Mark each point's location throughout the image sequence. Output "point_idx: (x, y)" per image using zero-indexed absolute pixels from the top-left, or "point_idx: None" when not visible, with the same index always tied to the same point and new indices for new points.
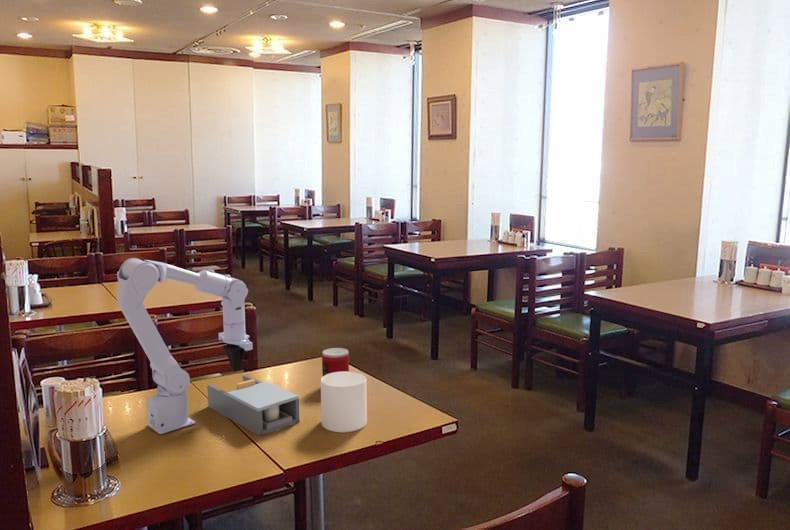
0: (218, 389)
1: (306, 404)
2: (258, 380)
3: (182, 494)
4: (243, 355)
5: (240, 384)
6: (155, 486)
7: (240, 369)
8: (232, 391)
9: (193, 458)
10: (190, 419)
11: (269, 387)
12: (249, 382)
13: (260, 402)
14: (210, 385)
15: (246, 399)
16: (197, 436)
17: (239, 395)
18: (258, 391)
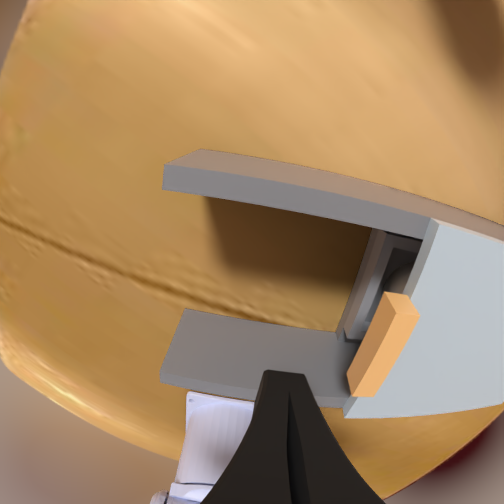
0: (254, 395)
1: (487, 96)
2: (344, 196)
3: (429, 467)
4: (358, 483)
5: (377, 389)
6: (388, 479)
7: (306, 380)
8: (359, 404)
9: (391, 448)
10: (249, 406)
11: (491, 283)
12: (401, 345)
13: (499, 385)
14: (179, 382)
15: (451, 403)
16: (336, 424)
17: (411, 405)
18: (465, 343)
